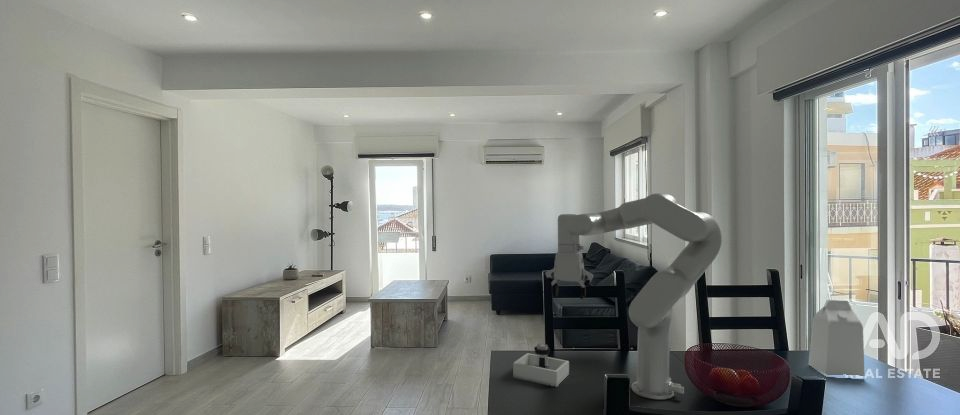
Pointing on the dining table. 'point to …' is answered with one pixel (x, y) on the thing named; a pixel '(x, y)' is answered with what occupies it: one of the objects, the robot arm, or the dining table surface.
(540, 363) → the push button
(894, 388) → the dining table surface
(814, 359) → the milk
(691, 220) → the robot arm
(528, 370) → the bin
